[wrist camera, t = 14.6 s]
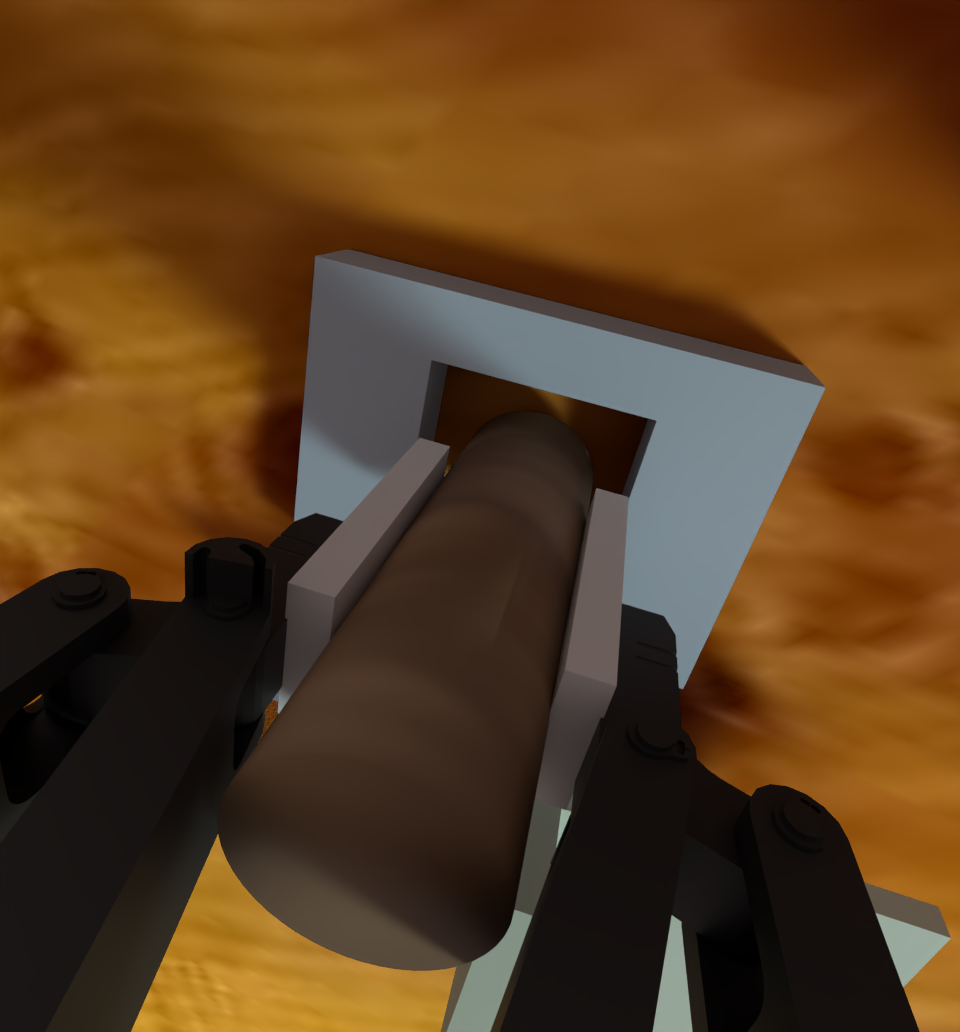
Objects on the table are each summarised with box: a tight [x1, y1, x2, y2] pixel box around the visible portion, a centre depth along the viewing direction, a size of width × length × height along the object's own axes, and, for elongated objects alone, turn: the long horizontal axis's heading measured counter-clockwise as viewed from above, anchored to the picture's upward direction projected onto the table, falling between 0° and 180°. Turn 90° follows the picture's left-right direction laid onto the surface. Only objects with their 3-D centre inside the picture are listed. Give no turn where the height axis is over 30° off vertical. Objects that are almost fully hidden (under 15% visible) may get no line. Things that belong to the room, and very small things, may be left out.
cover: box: [441, 795, 951, 1032], centre depth 18 cm, size 11×9×4 cm
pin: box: [217, 411, 594, 971], centre depth 13 cm, size 4×4×12 cm
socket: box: [294, 249, 826, 689], centre depth 18 cm, size 12×9×2 cm
